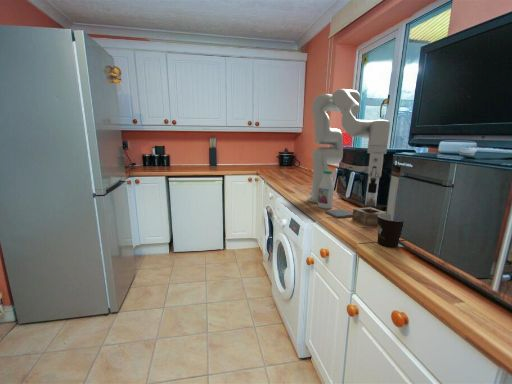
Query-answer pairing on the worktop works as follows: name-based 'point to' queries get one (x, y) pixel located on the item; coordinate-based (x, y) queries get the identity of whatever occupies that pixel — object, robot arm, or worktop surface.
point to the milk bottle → (326, 191)
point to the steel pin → (371, 194)
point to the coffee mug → (388, 231)
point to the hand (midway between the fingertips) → (372, 191)
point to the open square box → (367, 215)
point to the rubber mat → (339, 213)
